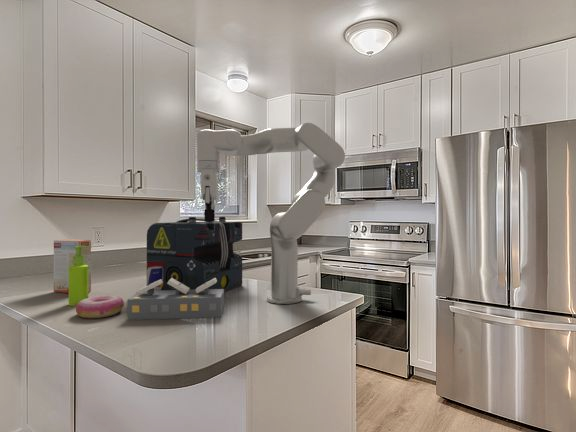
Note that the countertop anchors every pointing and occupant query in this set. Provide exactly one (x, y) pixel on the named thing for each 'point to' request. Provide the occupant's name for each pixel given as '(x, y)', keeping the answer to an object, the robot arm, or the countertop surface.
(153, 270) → the energy drink
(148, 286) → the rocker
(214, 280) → the rocker
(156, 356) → the countertop surface
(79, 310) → the donut
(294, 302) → the robot arm
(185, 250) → the power unit
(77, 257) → the soap dispenser
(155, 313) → the panel
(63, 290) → the cracker box
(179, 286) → the block
